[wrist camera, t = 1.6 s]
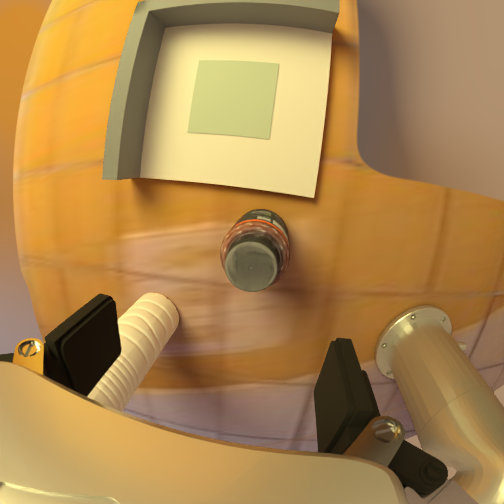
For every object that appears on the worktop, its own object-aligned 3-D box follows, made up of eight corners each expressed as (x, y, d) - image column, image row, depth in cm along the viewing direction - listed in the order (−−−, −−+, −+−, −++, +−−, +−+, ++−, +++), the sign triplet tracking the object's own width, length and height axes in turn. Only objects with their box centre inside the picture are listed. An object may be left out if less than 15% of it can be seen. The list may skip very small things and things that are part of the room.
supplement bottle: (244, 264, 32) (224, 311, 22) (228, 216, 31) (198, 241, 20) (294, 251, 31) (298, 294, 20) (279, 201, 30) (277, 218, 19)
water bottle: (187, 328, 36) (98, 483, 12) (150, 335, 37) (56, 466, 13) (161, 271, 34) (21, 404, 10) (124, 283, 35) (-7, 394, 11)
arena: (331, 24, 23) (339, 0, 17) (312, 197, 29) (320, 203, 24) (158, 21, 24) (138, 1, 19) (130, 176, 31) (102, 179, 25)
